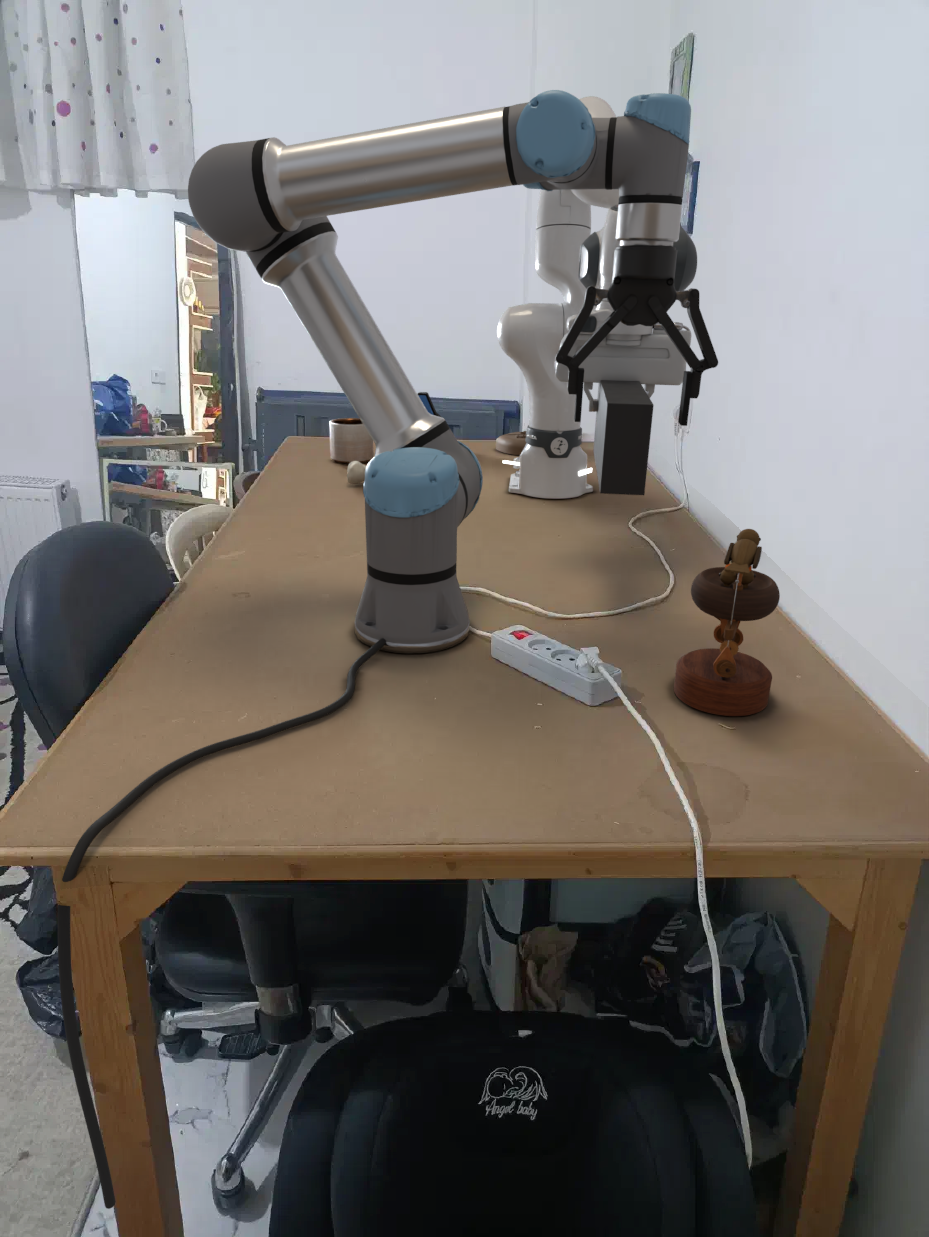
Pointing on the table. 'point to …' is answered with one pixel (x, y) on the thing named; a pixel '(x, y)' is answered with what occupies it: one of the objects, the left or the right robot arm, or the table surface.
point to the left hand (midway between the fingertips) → (629, 422)
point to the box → (622, 437)
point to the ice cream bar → (511, 443)
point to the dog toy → (356, 472)
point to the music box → (729, 635)
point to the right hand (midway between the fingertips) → (616, 412)
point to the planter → (350, 441)
